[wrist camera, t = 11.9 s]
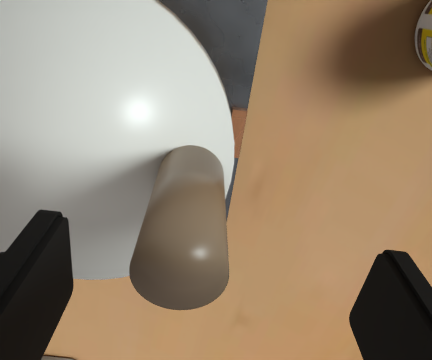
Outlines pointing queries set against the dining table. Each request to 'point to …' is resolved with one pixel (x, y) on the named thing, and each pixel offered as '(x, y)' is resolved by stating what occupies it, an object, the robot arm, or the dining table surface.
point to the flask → (54, 358)
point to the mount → (227, 51)
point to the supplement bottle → (425, 36)
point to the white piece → (117, 143)
